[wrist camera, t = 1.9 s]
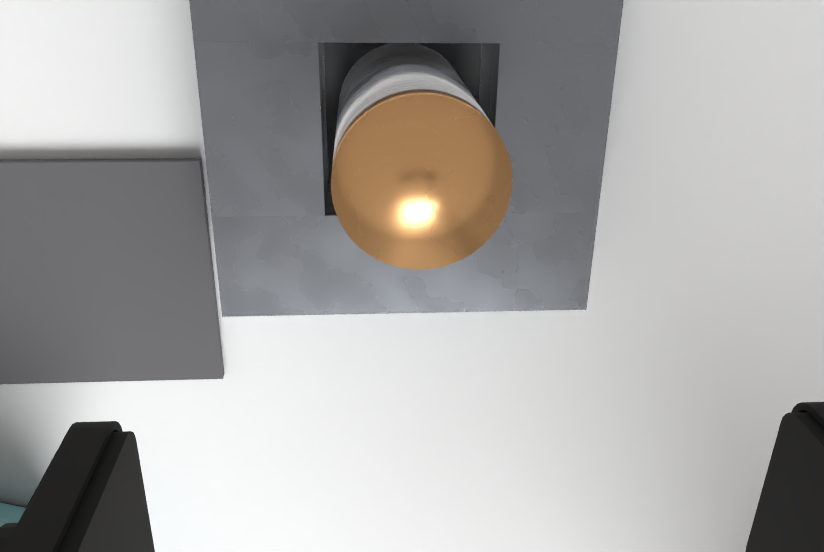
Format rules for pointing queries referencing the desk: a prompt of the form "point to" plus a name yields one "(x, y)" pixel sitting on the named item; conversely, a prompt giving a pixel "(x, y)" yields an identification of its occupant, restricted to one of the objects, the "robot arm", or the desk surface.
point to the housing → (308, 157)
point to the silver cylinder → (416, 160)
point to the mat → (106, 272)
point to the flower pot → (10, 513)
